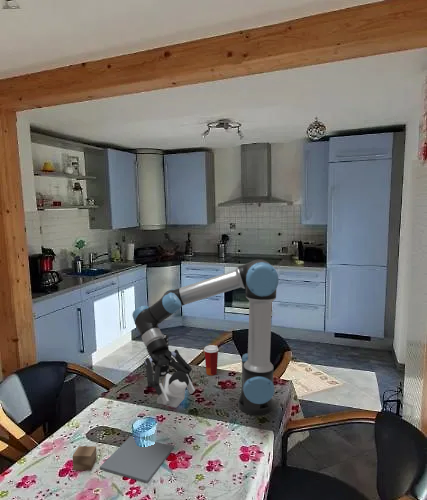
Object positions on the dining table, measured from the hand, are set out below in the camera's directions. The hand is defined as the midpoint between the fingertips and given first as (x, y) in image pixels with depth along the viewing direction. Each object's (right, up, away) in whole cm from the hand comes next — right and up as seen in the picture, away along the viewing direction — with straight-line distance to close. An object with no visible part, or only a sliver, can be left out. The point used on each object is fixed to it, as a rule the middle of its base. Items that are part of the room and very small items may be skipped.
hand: (180, 397), depth 125 cm
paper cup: (+11, -14, +64) cm, 66 cm away
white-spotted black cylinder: (-16, -14, +64) cm, 68 cm away
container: (-5, -2, +6) cm, 8 cm away
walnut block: (-31, -20, -5) cm, 38 cm away
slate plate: (-14, -20, -3) cm, 24 cm away
